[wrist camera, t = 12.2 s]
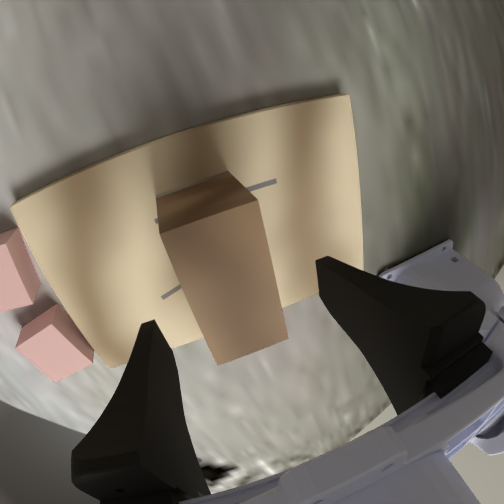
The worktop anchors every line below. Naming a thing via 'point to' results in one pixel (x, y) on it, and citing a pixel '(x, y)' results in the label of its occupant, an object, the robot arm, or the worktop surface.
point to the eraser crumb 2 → (55, 344)
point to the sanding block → (223, 264)
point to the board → (179, 174)
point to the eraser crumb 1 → (16, 272)
